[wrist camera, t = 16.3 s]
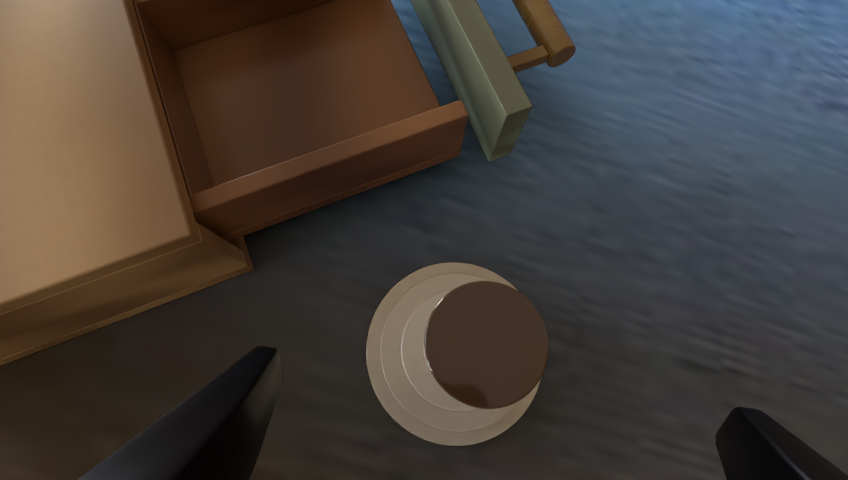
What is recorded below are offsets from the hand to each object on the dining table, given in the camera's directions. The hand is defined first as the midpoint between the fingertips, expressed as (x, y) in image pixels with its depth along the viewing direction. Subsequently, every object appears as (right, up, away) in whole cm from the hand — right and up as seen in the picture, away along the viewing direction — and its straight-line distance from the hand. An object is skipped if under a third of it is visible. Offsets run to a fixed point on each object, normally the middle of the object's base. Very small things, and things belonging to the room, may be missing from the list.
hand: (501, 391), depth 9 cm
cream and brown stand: (0, -2, +11) cm, 12 cm away
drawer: (-4, +11, +14) cm, 18 cm away
